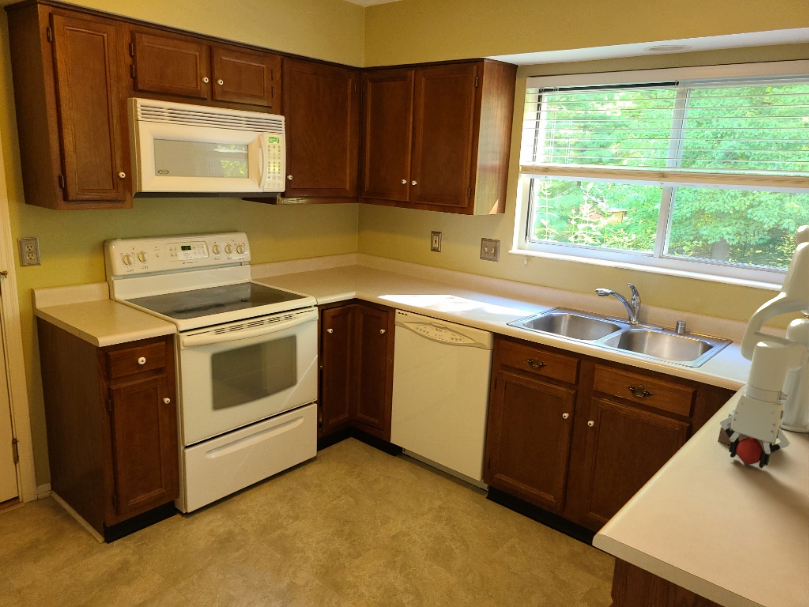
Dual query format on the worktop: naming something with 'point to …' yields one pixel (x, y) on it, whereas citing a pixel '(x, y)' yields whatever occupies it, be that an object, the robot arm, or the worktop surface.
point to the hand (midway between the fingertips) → (747, 460)
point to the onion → (749, 450)
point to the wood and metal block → (724, 437)
